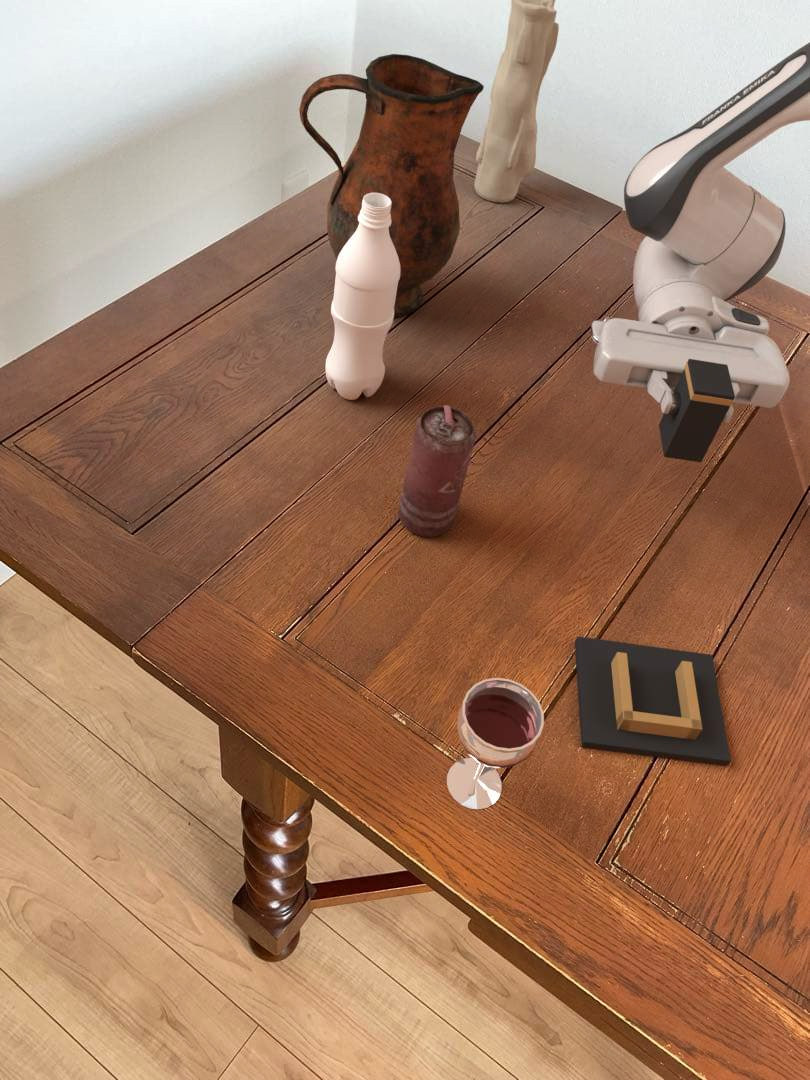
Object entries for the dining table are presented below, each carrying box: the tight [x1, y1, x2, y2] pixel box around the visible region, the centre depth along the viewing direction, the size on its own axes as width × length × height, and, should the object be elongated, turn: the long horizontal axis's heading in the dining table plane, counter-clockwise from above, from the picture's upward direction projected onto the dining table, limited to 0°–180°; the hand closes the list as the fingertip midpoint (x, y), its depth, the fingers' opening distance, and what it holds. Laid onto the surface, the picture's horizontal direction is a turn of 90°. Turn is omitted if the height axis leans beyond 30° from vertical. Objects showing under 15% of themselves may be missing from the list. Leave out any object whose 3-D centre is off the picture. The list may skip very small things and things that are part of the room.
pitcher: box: [298, 53, 485, 318], centre depth 120 cm, size 17×21×30 cm
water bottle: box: [324, 193, 401, 401], centre depth 109 cm, size 7×7×25 cm
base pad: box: [574, 636, 732, 767], centre depth 93 cm, size 14×12×3 cm
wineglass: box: [446, 677, 545, 810], centre depth 81 cm, size 7×7×12 cm
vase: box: [474, 0, 560, 203], centre depth 143 cm, size 9×8×30 cm
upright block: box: [658, 359, 735, 463], centre depth 98 cm, size 4×5×9 cm
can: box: [397, 404, 477, 538], centre depth 101 cm, size 6×6×14 cm
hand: (698, 413), depth 97 cm, fingers closed on upright block, 4 cm apart
